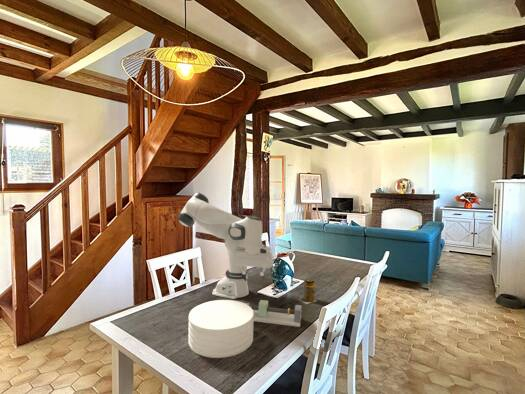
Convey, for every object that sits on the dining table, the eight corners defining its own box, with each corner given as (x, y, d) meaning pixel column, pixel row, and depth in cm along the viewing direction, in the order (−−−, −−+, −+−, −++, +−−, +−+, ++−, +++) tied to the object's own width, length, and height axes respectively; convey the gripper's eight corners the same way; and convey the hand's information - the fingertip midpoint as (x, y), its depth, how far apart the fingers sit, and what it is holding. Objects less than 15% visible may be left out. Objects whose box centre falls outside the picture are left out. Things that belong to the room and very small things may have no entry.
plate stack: (217, 367, 105) (217, 337, 104) (175, 339, 123) (175, 313, 122) (266, 337, 126) (266, 312, 125) (223, 317, 144) (224, 295, 144)
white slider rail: (239, 319, 141) (239, 305, 141) (245, 310, 151) (245, 297, 151) (299, 326, 135) (300, 312, 135) (301, 317, 145) (301, 303, 145)
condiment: (317, 301, 165) (317, 281, 165) (306, 304, 161) (307, 283, 160) (308, 296, 171) (309, 277, 171) (298, 299, 167) (298, 279, 166)
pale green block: (258, 316, 142) (258, 303, 142) (260, 312, 147) (260, 299, 146) (266, 317, 141) (266, 304, 141) (267, 313, 146) (268, 300, 145)
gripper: (231, 248, 143) (231, 275, 144) (271, 250, 139) (271, 278, 139) (235, 245, 149) (235, 271, 150) (273, 248, 145) (273, 274, 145)
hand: (252, 274), depth 144 cm, fingers open, 8 cm apart
